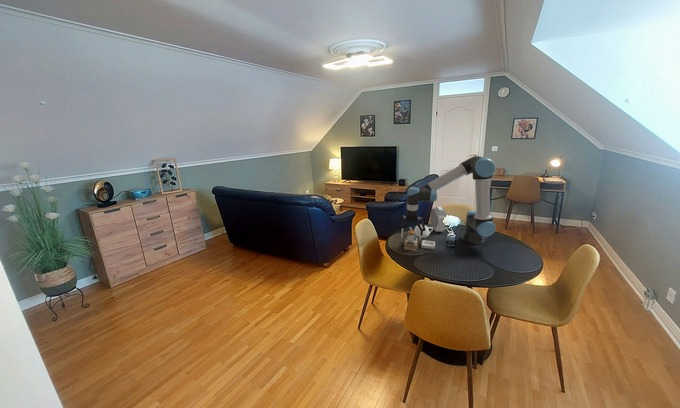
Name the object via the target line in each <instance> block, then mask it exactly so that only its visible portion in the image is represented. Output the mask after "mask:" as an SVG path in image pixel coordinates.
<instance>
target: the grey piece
mask: <svg viewBox="0 0 680 408" xmlns="http://www.w3.org/2000/svg"><path fill="white" fill-rule="evenodd" d="M446 211H447V210H446V209H445V208H444V207H441V206H435V207H434V208H431V211H430V215H429V216H430V217H429V218H430V219H429V220H430V224H431V227H432V228H433V231H434V232H435V233H437V232H441V233H443V232H445V230H446V225H445V224H444V223H443V220H444V218H445V217H446V216H447V212H446ZM447 217H448V216H447Z"/></svg>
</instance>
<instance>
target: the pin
mask: <svg viewBox="0 0 680 408" xmlns="http://www.w3.org/2000/svg"><path fill="white" fill-rule="evenodd" d="M414 236H415V235H414V230H413V229H412V230H408V231H407V237H408V244H413V243H414Z"/></svg>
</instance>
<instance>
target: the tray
mask: <svg viewBox="0 0 680 408" xmlns="http://www.w3.org/2000/svg"><path fill="white" fill-rule="evenodd" d="M421 240H422V239H421ZM435 247H436V241H433V240H425V239H424V240H422V241H421V248H420V249H424V248H425V249H426V250H433V251H435Z"/></svg>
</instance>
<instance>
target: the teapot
mask: <svg viewBox="0 0 680 408" xmlns="http://www.w3.org/2000/svg"><path fill="white" fill-rule="evenodd" d="M420 226H421V227H422V225H421V224H420ZM424 226H425V228H426V230H425V231H423V235H422V236H421V239H426V238H428V236H430V234H431V233H433V231H434V230H433V228H432V226H427V225H425V224H424ZM409 229H410V230H413V228H412V227H411V226H410V227H409ZM422 229H423V227H422ZM429 229H431V230H429ZM413 231H414V236H415V237H416V238H418V239H419V236H420V229H419V228H418V226H417V225H416V226H415V227H414V230H413Z"/></svg>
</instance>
